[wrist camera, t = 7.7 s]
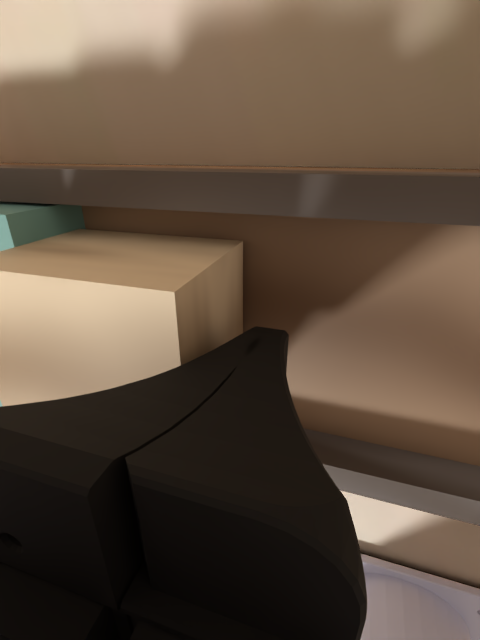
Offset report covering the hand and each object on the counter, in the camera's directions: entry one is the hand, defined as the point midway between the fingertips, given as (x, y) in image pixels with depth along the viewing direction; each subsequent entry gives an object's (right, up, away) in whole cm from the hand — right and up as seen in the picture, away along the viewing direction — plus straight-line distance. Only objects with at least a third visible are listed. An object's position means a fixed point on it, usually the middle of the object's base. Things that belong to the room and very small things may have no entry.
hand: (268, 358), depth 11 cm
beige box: (-4, +1, +3) cm, 5 cm away
